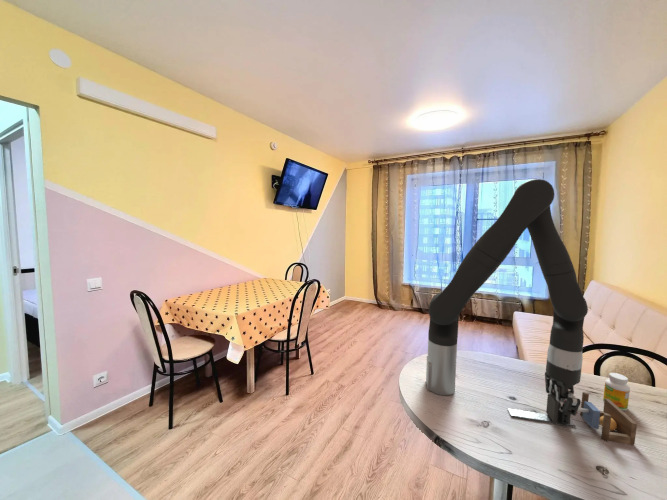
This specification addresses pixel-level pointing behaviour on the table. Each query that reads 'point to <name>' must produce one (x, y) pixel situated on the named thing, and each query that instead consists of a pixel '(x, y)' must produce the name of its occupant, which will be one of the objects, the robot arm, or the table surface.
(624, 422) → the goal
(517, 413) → the rail
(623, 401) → the supplement bottle
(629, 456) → the table surface
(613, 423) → the ball
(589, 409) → the rod
